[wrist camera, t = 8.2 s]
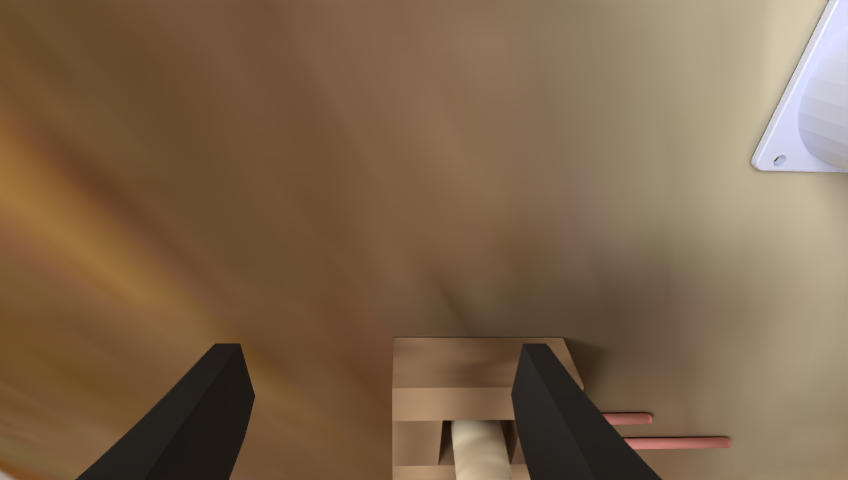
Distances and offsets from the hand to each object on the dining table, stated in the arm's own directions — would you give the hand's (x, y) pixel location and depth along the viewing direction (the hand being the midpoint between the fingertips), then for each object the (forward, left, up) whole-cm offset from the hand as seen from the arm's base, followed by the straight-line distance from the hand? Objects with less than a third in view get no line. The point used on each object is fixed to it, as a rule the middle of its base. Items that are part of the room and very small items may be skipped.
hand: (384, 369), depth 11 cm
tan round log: (-5, +14, -10) cm, 18 cm away
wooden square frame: (-5, +14, -10) cm, 18 cm away
